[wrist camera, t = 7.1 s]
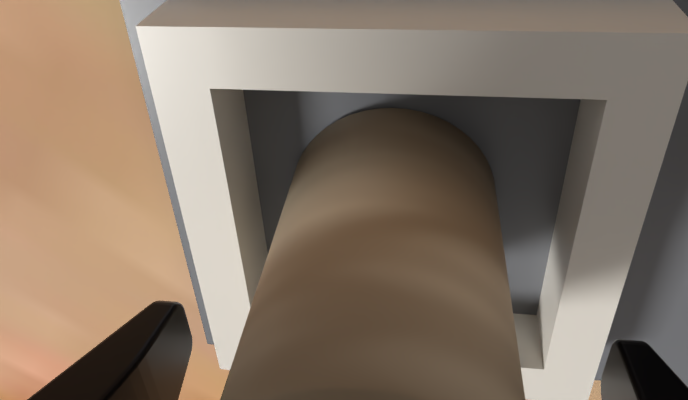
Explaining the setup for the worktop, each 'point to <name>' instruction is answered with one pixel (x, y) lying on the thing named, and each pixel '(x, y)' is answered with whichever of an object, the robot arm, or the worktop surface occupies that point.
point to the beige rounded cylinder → (383, 273)
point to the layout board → (467, 115)
